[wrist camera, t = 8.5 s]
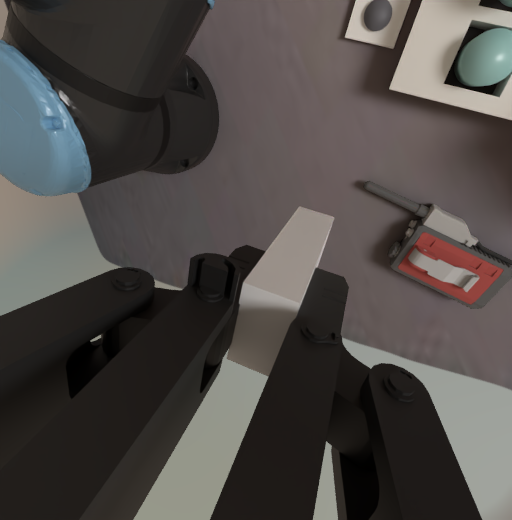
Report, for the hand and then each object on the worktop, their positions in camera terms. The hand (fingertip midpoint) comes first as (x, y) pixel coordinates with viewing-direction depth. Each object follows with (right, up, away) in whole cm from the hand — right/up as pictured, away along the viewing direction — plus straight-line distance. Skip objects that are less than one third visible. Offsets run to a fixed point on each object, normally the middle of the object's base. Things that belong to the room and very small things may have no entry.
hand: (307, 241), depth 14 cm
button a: (+19, +18, +18) cm, 31 cm away
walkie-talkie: (+19, +2, +27) cm, 33 cm away
